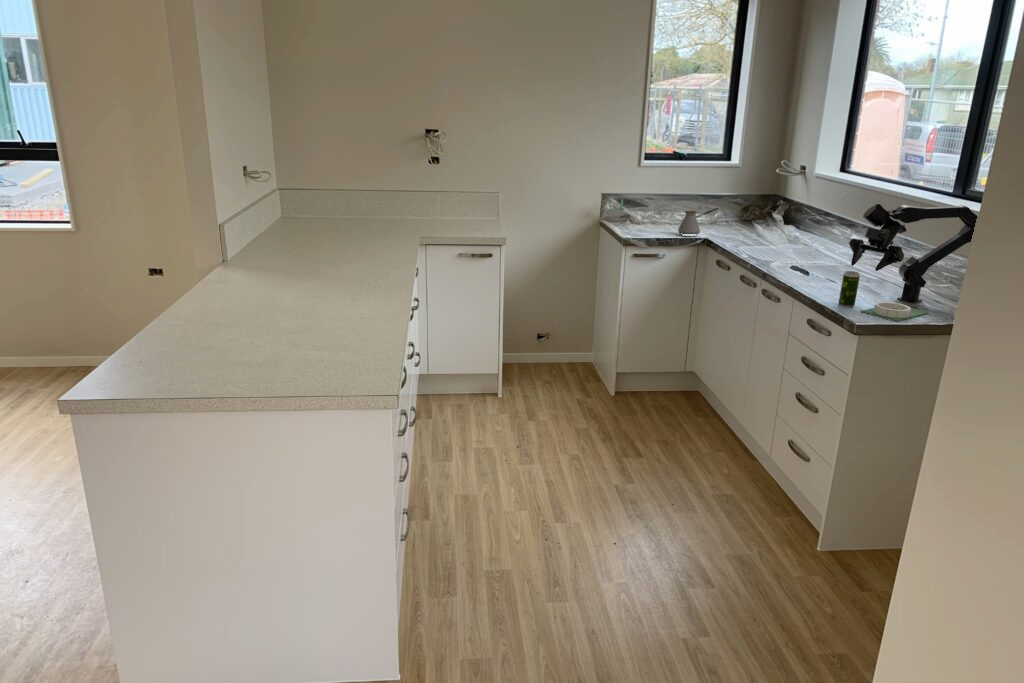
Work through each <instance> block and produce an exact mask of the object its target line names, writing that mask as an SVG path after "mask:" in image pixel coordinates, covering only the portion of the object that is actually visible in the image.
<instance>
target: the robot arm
mask: <svg viewBox="0 0 1024 683" xmlns="http://www.w3.org/2000/svg"><path fill="white" fill-rule="evenodd" d="M977 216H978V215H977V214H975V212H973V211H972V209H970V207H968V206H966V205H963V204H960V205H949V206H948V205H947V206H930V207H927V206H926V207H923V206H917V205H909V204H902V205H899V206H898V207H896V208H895V209H891V210H886V209H885V208H884V207H883V206H882V205H881V204H880V203H878V202H876V203H875V204H874V205H872V206H871V207H869V208H868V209H866V211H865V212H864V214H863V216H862V217H863V219H864V220H866V221H867V222H869V224H871V225H872V227H874V228H872V227H868V228H867V230H866V233H865V235H864V237H865V238H867V242H868V243H869V244H867V243H865V242H864V240H863V239H860V238H851V239H850V240H849V242H848V245H849V247H850V249H851V251H852V253H853V254H852V259H851V263H850V264H851V266H852V267H853V266H855V265H856V264H857V263H858V262H859V260H860V259H861V258H862V257H863V254H864V253H865V252H866V251H868V252H875V253H878V254H881V255H882V254H883V257H882V258H881V260H880V261H879V262H878V263H877V265H876V267H875V268H874V269H875V270H874V271H876V272H877V271H880V270H882V269H884V268H886V267H887V266H890V265H893V264H897V263H902V264H901V265H900V266H899V268H898V274H899V276H900V277H901V278H902V281H903V282H904V284H903V288H902V292H901V293H902V294H901V296H900V297H896V299H897V300H899V301H903V302H907V303H911V304H915V303H920V302H923V299H921V298H920V294H921V291H922V288H924V287H925V286H926V284H927V281H926V280H925V279H924V278H923V276H924V275H925V274H926V272H927V271H928V270H929V269H930V267H932V266H934V265H935V264H937V263H938V262H940V261H941V260H943V259H945V258H946V257H947V256H949V255H951V254H952V253H954V252H955V251H957V250H958V249H960V248H961V247H963V246H965V245H966V244H969V243H972V242H971V239H972V235H973V232H974V227H975V223H976V219H977ZM952 218H954V219H956V218H958V219H959V220H960V221H961V222H962V223H963V226H962V227H961V229H960V230H959V232H957V233H956V234H955V235H954V236H952V237H950V238H949V239H947V240H945V241H944V242H943V243H941V244H940V245H938V246H937V247H935V248H933V249H932V250H931V251H929V252H927V253H926V254H924V255H923V256H922V257H921V256H920V257H917V258H916V257H914V256H911V257H909V258H908V259H907V260H906V261H903V260H904V259H905V254H904V252H903V248H902V246H898V245H894V239H895V238H896V236H897V235H898V234H900V235H901V234H903V233H906V232H907V230H908V229H907V228H906V225H905V224H911V223H916V222H919V221H922V220H926V219H929V220H930V219H952ZM900 222H901V223H904V224H901V223H900ZM875 227H880V229H878V228H875Z"/></svg>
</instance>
